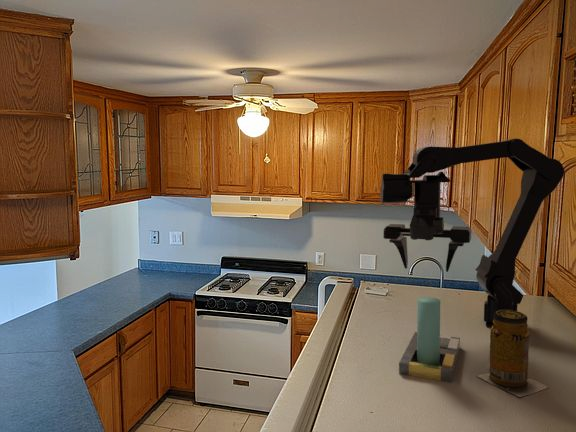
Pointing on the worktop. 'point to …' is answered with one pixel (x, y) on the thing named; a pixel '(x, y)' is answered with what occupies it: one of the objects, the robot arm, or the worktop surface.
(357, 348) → the worktop surface
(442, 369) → the socket plate
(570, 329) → the worktop surface
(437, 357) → the plug
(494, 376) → the condiment
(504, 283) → the robot arm
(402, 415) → the worktop surface
